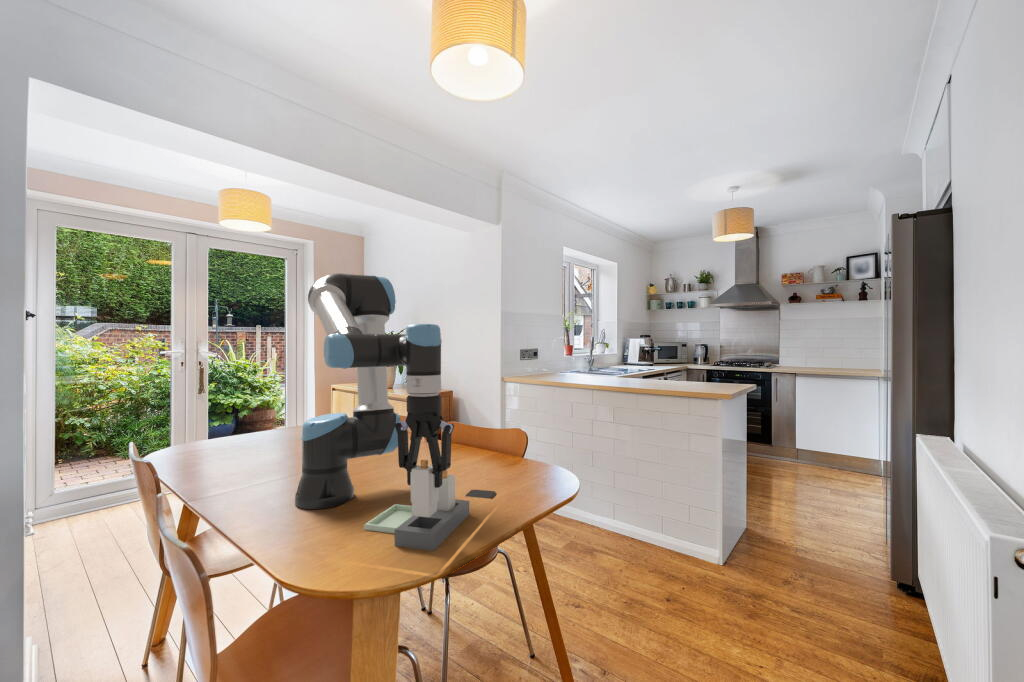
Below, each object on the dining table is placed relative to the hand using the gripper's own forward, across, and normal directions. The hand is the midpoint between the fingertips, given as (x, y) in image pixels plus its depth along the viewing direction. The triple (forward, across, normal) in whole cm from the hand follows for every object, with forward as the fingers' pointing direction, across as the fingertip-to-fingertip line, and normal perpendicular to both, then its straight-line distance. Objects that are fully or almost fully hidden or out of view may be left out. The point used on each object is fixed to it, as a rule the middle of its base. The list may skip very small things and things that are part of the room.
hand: (424, 500), depth 96 cm
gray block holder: (+9, 0, +5) cm, 10 cm away
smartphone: (+9, +2, +26) cm, 27 cm away
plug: (+3, 0, 0) cm, 3 cm away
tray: (+9, -11, +7) cm, 16 cm away
